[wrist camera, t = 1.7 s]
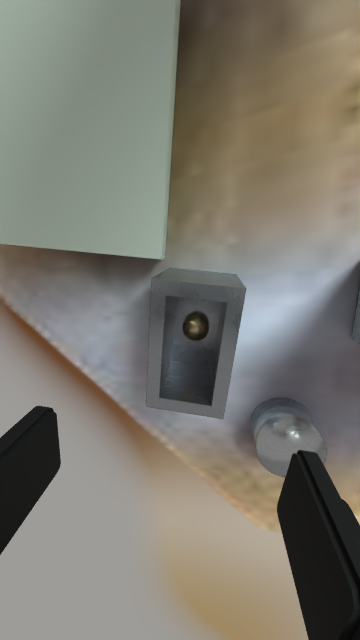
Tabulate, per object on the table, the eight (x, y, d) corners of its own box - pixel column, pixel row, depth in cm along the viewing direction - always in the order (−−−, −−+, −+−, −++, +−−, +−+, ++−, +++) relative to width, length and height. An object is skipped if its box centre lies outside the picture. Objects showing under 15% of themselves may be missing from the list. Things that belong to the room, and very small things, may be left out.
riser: (-9, -62, 16) (-77, -154, 12) (193, -72, 15) (185, -181, 11) (28, 243, 23) (-9, 242, 19) (170, 256, 21) (161, 259, 17)
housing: (170, 267, 22) (151, 278, 15) (235, 274, 21) (246, 288, 14) (163, 363, 25) (145, 406, 18) (220, 371, 24) (223, 419, 18)
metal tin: (256, 393, 24) (264, 421, 21) (316, 402, 24) (335, 432, 20) (246, 438, 26) (251, 471, 23) (301, 447, 26) (316, 482, 22)
